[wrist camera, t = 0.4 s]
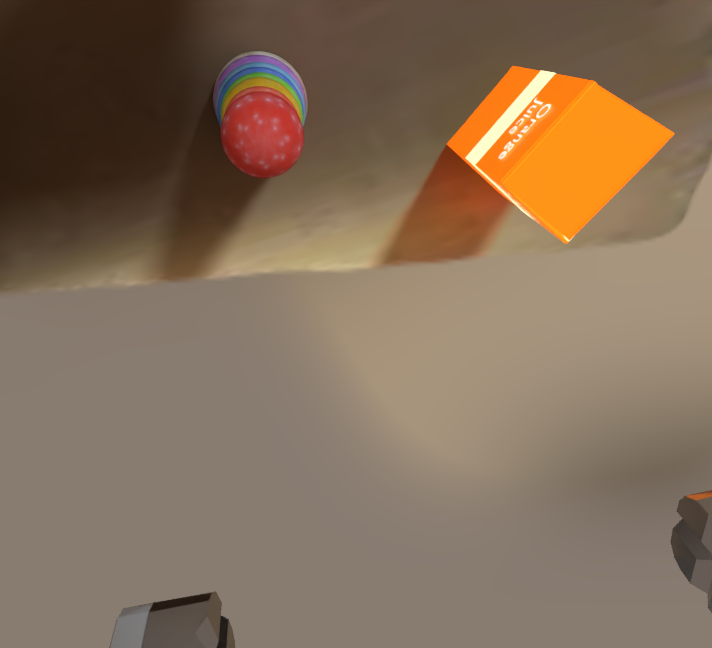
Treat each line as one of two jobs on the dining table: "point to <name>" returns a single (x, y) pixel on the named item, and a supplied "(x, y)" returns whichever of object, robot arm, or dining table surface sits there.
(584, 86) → the orange juice
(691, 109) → the dining table surface
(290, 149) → the stacking toy
